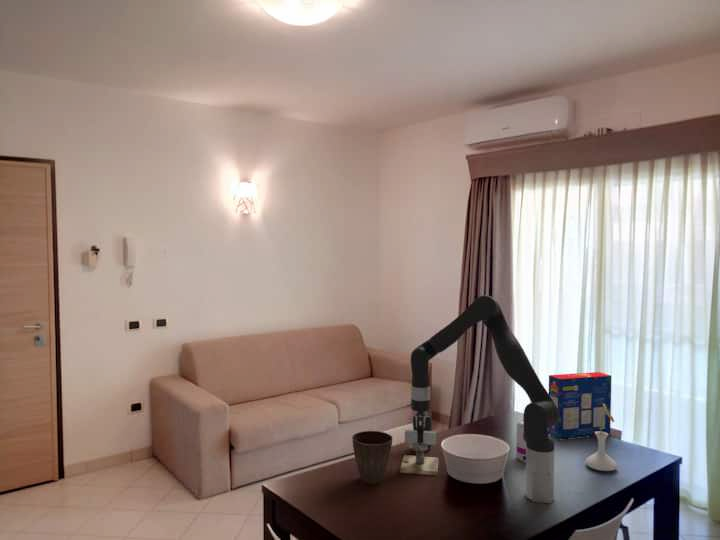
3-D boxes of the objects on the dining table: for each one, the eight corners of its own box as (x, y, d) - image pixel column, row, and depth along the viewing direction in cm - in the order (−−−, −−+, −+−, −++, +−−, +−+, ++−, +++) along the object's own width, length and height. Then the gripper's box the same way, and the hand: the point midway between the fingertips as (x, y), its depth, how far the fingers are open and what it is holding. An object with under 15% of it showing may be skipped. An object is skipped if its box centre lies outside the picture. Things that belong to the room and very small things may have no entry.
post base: (438, 461, 213) (438, 444, 213) (437, 475, 199) (437, 457, 199) (404, 458, 215) (404, 442, 215) (400, 472, 202) (400, 454, 201)
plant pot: (364, 468, 205) (365, 428, 204) (399, 477, 197) (399, 435, 197) (344, 482, 192) (344, 439, 192) (379, 492, 184) (380, 447, 184)
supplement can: (540, 463, 212) (540, 426, 211) (519, 462, 212) (520, 425, 212) (533, 455, 220) (534, 419, 220) (514, 455, 220) (514, 419, 220)
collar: (435, 447, 209) (435, 430, 209) (435, 452, 203) (435, 435, 203) (405, 445, 211) (405, 428, 211) (404, 450, 205) (404, 433, 205)
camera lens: (431, 446, 230) (431, 412, 229) (431, 453, 222) (432, 418, 221) (412, 445, 230) (412, 411, 230) (412, 452, 222) (412, 417, 222)
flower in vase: (613, 476, 199) (614, 411, 199) (581, 469, 206) (583, 405, 205) (620, 465, 210) (622, 403, 209) (590, 459, 216) (591, 398, 216)
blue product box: (598, 429, 254) (599, 372, 253) (610, 435, 246) (611, 375, 245) (548, 434, 246) (548, 375, 246) (558, 440, 239) (559, 379, 238)
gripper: (430, 402, 199) (430, 447, 200) (430, 393, 213) (429, 435, 213) (410, 401, 200) (410, 447, 201) (411, 392, 214) (411, 434, 214)
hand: (420, 440), depth 207 cm, fingers closed on collar, 2 cm apart
